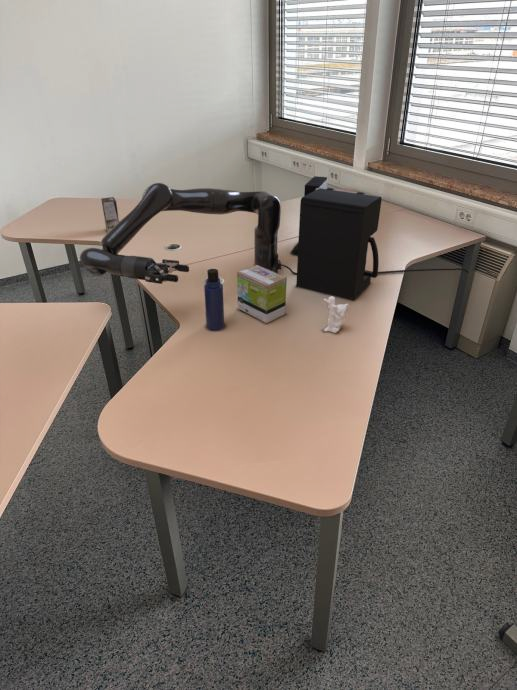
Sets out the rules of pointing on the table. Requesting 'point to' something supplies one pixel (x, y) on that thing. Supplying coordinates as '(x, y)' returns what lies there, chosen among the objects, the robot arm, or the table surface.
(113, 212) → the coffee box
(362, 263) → the coffee maker
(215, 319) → the water bottle
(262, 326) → the table surface
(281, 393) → the table surface
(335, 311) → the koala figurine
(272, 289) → the tea box
